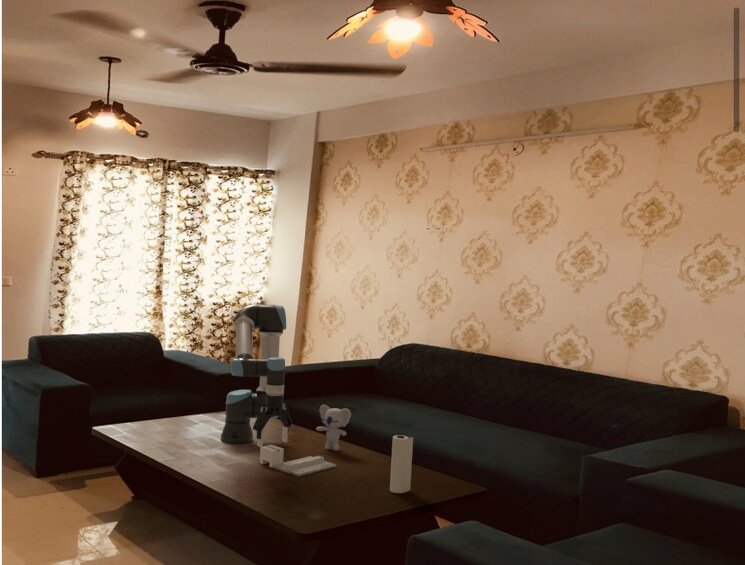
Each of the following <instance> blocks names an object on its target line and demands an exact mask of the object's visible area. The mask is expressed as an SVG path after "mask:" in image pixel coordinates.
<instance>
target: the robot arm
mask: <svg viewBox="0 0 745 565" xmlns="http://www.w3.org/2000/svg"><path fill="white" fill-rule="evenodd" d="M233 328H234V330H235V358H232V359H231V368H230V369H231V370H230V371H231V372H230V374H231V375H232V376H233V377H234V376H235V377H259V386H258V387H257V388H256V391H255V392H254V393H253V392H252V390H251V389H238V390H231V391H230V392H228V393H227V395H226V401H225V418H224V419H225V420H224V422H225V423H224V426H223V429H222V432H221V434H220V440H221V441H222V442H223V443H228V444H237V445H238V444H240V445H241V444H247V443H248V444H249V443H251V442H252V441H254V434H253V431H252V430H254V431H256V440H257V442H256V446H257V447H259V448H261V447H263V446H264V431H263V430H264V429H265V427H266V425H267V423H268V422H269V420H270V419H277V418H278V419H279V420H280V421H281V423H282V425H283V426H282V428H281V429H282V430H281V442H283V443H288V434H289V432H290V431H289V430H290V428H291V426H293V423H294V422H293V419H292V417H291V416H292V415H291V413H290V411H289V404H287V403H284V394H285V373H286V360H285V358H284V357H280V340H281V339H280V338H281V336H282V335H283V333H284V331H285V330H287V315H286V310H285V307H284V306H283V305H280V304H279V305H278V304H254V303H252V304H248V305H245V306H244V307H242V308H240V310H239V311H238V312H237V314H236V315H235V317H234V318H233ZM254 329H258V333H259V334H260V337H261V343H260V344H261V346H260V349H261V350H260V358H258V359H257V358H254V344H253V343H254V340H253V338H254V336H253V331H254ZM251 419H255V422H254V424H253V427H252V426H251Z"/></svg>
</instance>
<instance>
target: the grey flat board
mask: <svg viewBox="0 0 745 565" xmlns="http://www.w3.org/2000/svg"><path fill="white" fill-rule="evenodd" d="M336 467H337V464H336V463H332V462H329V461H326V460H325V457H324V456H321V455H316V456H311V455H309V456H305V457H301V458H297V459H292V460H287V461H283V463H279V464H275V465H272V467H271V468H273V469H276V470H278V471H281V472H284V473H285V474H286V473H287V474H290V475H292V476H295V477H303V476H305V475H310V474H314V473H318V472H321V471H325V470H329V469H333V468H336Z"/></svg>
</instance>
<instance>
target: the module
mask: <svg viewBox="0 0 745 565" xmlns="http://www.w3.org/2000/svg"><path fill="white" fill-rule="evenodd" d="M259 448H260V452H259V453H260V454H259V464H261V465H264V464H269V467H270V468H272V465H275V464H279V463H283V462H284V452H285V450H284V448H283V447H279V446H277V445H274V444H268V445H263V447H259Z"/></svg>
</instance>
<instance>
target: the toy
mask: <svg viewBox="0 0 745 565" xmlns="http://www.w3.org/2000/svg"><path fill="white" fill-rule="evenodd" d="M319 414H320V418H321V422H322V423H323V424H324V426H317V427H316V428H315V430H316V431H317V432H324V431H325V432H326V433H325V434H326V435H325V437H326V438H325V439H326V442H325V445H324V448H325V449H326V450H330V449H332V450H333V451H336V452H337V451H339V450H340V444H339V439H340V437H341V436H343V437H344V436H346V435H347V432H346V431H345V430H344V429H341V427H343V428H344V427H346V426H347V424H349V423H350V420H351V419H350V418H351V417H352V412H351V410H350V409H349V408H345V407H344V408H341V409H340V408H336V407H335V408H331V407H329V406H328V405H326V404H321V406H320V407H319Z"/></svg>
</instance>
